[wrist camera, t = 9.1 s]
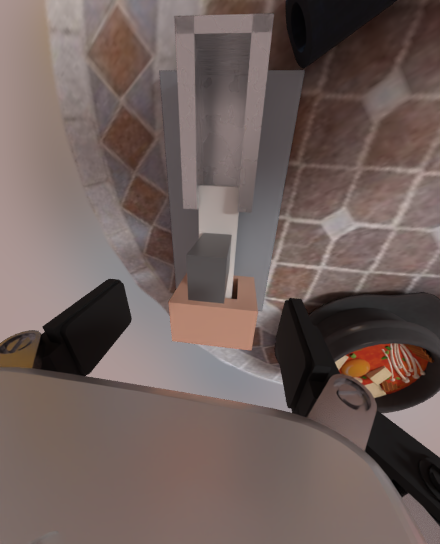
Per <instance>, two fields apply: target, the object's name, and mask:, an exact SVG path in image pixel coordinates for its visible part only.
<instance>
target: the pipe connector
mask: <svg viewBox="0 0 440 544" xmlns="http://www.w3.org/2000/svg"><path fill="white" fill-rule="evenodd" d="M396 1H397V0H286V23H287V31H288V35H289V38H290V42H291V45H292V48H293V52H294V55H295V59H296V61H297V63H298V64H299V66H301V67H302V68H305V67H307V66H308V65H310V64H311V63H312V62H314V61H315V60H316V59H318V58H319V57H321V56H322V55H323V54H325V53H326V52H327V51H329V50H330V49H331V48H333V47H334V46H336V45H337V44H338V43H340V42H341V41H342V40H344V39H345V38H346V37H348V36H349V35H351V34H352V33H353V32H355V31H356V30H357V29H359V28H360V27H361V26H363V25H364V24H366V23H367V22H368V21H370V20H371V19H372V18H374V17H375V16H376V15H378V14H379V13H381V12H382V11H383V10H385V9H386V8H387V7H389V6H390V5H391V4H393V3H394V2H396Z"/></svg>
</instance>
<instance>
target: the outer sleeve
mask: <svg viewBox="0 0 440 544" xmlns="http://www.w3.org/2000/svg"><path fill="white" fill-rule="evenodd" d="M273 19H274V13H269V14H234V15H198V16H175V37H176V59H177V81H178V103H179V125H180V147H181V169H182V191H183V209H198V208H199V191H198V185H221V186H239V197H238V210H237V212H248V213H252V204H253V195H254V187H255V178H256V169H257V160H258V151H259V143H260V134H261V125H262V116H263V107H264V98H265V90H266V81H267V72H268V63H269V54H270V46H271V37H272V28H273Z"/></svg>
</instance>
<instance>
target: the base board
mask: <svg viewBox="0 0 440 544" xmlns="http://www.w3.org/2000/svg"><path fill="white" fill-rule="evenodd" d="M159 72H160V85H161V99H162V112H163V125H164V138H165V151H166V164H167V177H168V190H169V203H170V216H171V229H172V242H173V255H174V268H175V281H176V289H177V288H178V286H179V284H180V283H181V281H182V279H183V278H184V276H185V275H186V273H187V261H186V255H187V253H188V252H189V251H190V250H191V248H192V247H193V246H194V244H195V243H196V242H197V240H198V239H199V208H198V209H183V191H182V169H181V147H180V125H179V103H178V81H177V71H159ZM304 73H305V70H268V72H267V81H266V90H265V98H264V107H263V116H262V125H261V134H260V143H259V151H258V160H257V169H256V178H255V187H254V195H253V204H252V213H248V212H239V216H238V228H237V240H236V252H235V264H234V275H235V276H246V277H254V282H255V290H256V299H257V308H258V311H262V308H263V302H264V297H265V291H266V286H267V280H268V274H269V269H270V263H271V258H272V252H273V247H274V241H275V235H276V230H277V224H278V219H279V213H280V207H281V202H282V196H283V191H284V185H285V179H286V174H287V168H288V163H289V157H290V151H291V146H292V140H293V135H294V129H295V124H296V118H297V112H298V107H299V101H300V96H301V90H302V84H303V79H304Z"/></svg>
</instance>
